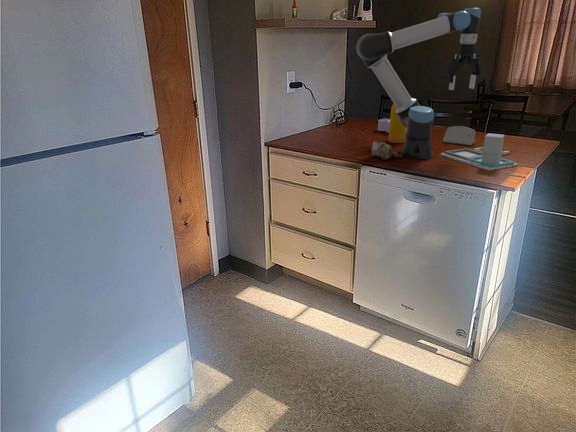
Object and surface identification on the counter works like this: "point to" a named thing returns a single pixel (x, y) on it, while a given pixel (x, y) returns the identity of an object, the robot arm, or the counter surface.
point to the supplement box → (492, 148)
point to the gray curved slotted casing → (460, 135)
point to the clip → (385, 125)
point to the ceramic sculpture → (383, 150)
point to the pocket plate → (476, 159)
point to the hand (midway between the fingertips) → (461, 89)
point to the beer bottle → (396, 128)
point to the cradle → (482, 151)
